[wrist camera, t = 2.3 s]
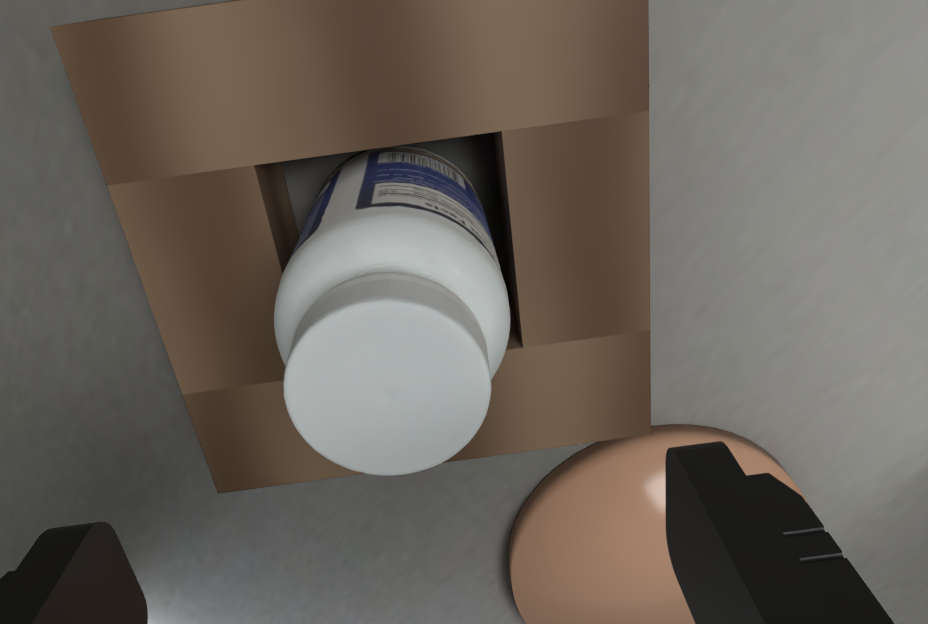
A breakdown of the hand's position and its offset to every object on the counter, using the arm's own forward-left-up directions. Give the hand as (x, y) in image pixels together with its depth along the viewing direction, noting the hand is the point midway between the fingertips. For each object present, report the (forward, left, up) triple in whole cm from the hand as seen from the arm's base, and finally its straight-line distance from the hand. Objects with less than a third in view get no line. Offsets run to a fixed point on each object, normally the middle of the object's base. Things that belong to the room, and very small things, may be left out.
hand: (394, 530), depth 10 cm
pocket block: (0, 0, -13) cm, 13 cm away
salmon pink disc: (+8, -15, -13) cm, 21 cm away
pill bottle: (0, 0, -14) cm, 14 cm away
